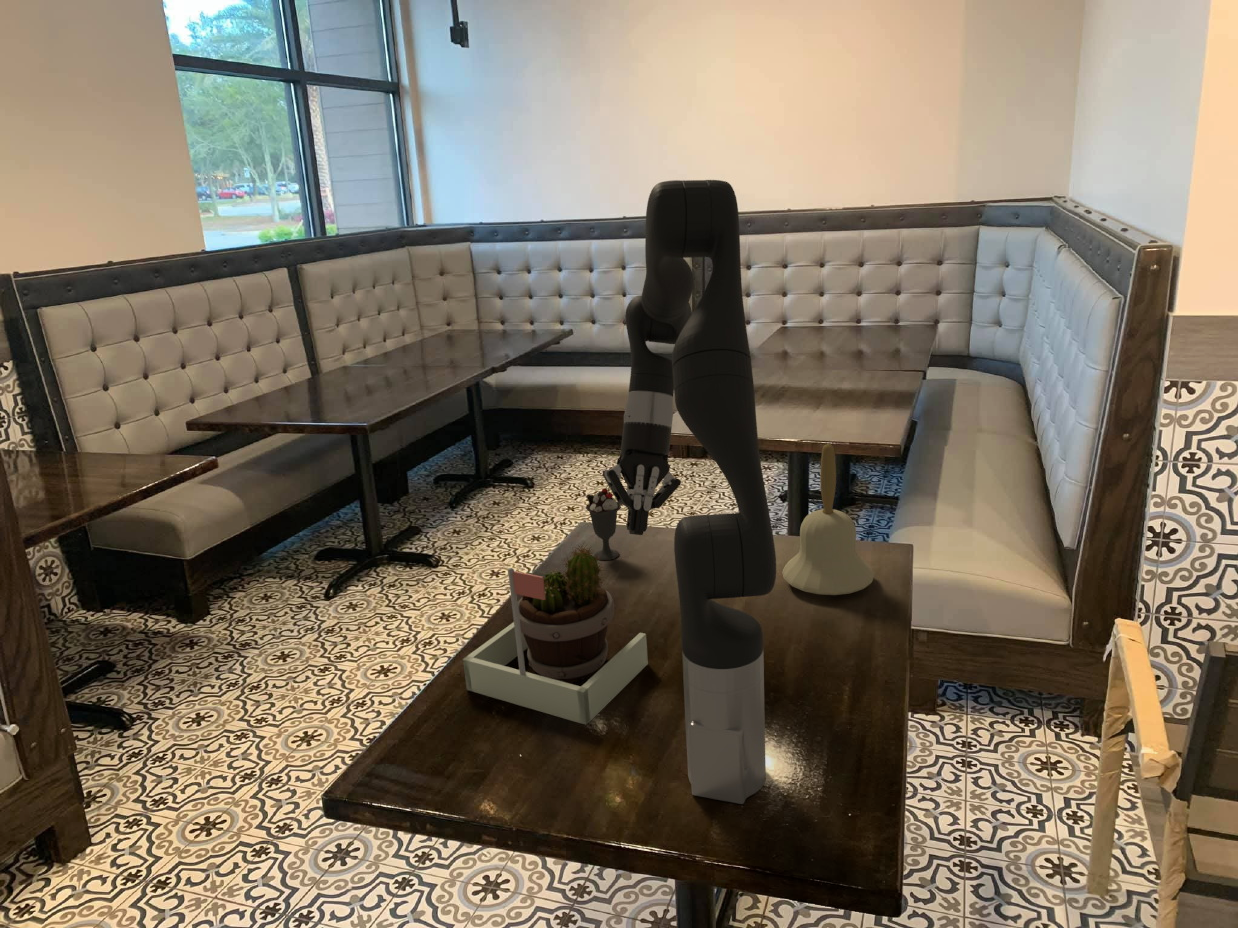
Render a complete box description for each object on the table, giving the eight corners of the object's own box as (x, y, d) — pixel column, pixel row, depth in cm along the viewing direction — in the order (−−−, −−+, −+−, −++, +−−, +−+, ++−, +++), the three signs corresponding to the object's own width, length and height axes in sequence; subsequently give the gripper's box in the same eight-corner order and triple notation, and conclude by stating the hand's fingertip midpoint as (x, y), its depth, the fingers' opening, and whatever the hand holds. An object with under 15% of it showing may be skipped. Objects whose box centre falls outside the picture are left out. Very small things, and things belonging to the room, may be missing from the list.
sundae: (629, 557, 170) (624, 483, 166) (596, 565, 168) (590, 489, 164) (617, 545, 176) (611, 473, 172) (584, 552, 174) (578, 479, 169)
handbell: (767, 592, 153) (765, 452, 145) (802, 558, 165) (801, 427, 157) (856, 610, 145) (858, 463, 137) (886, 573, 156) (889, 436, 149)
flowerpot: (506, 691, 129) (491, 563, 122) (537, 638, 143) (525, 521, 137) (605, 697, 125) (594, 566, 119) (627, 642, 140) (618, 523, 134)
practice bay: (535, 636, 143) (522, 515, 137) (647, 663, 133) (639, 534, 127) (466, 689, 130) (448, 557, 123) (586, 724, 119) (573, 582, 113)
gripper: (618, 415, 134) (605, 531, 133) (696, 428, 139) (685, 539, 138) (599, 419, 141) (587, 529, 140) (674, 430, 146) (663, 537, 145)
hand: (636, 534), depth 139 cm, fingers closed
